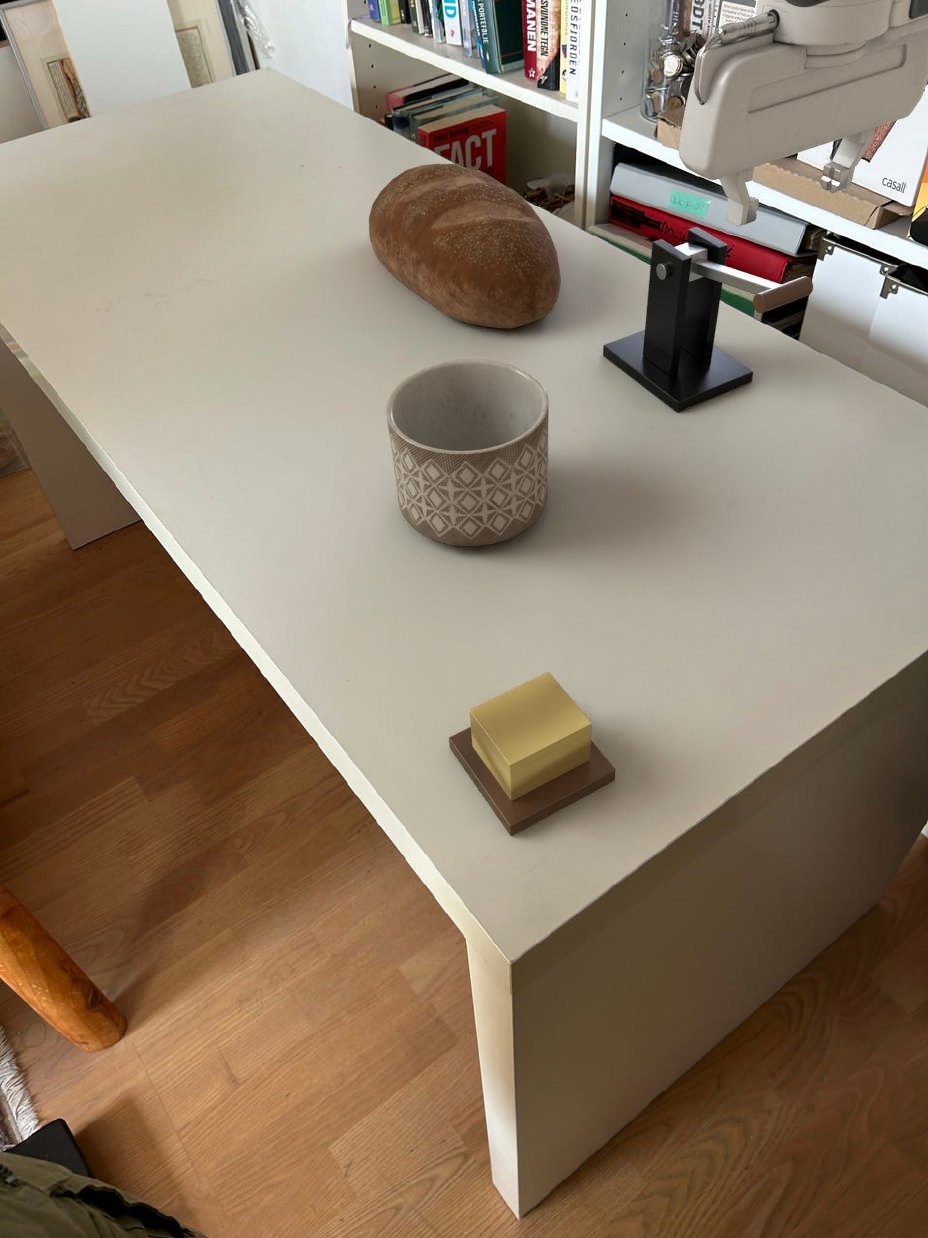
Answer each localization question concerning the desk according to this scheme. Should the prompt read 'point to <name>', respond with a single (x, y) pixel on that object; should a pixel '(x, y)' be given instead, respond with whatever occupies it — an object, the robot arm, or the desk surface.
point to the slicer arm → (746, 281)
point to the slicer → (680, 331)
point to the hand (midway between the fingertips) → (788, 204)
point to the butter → (531, 753)
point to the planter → (470, 450)
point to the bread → (466, 245)
